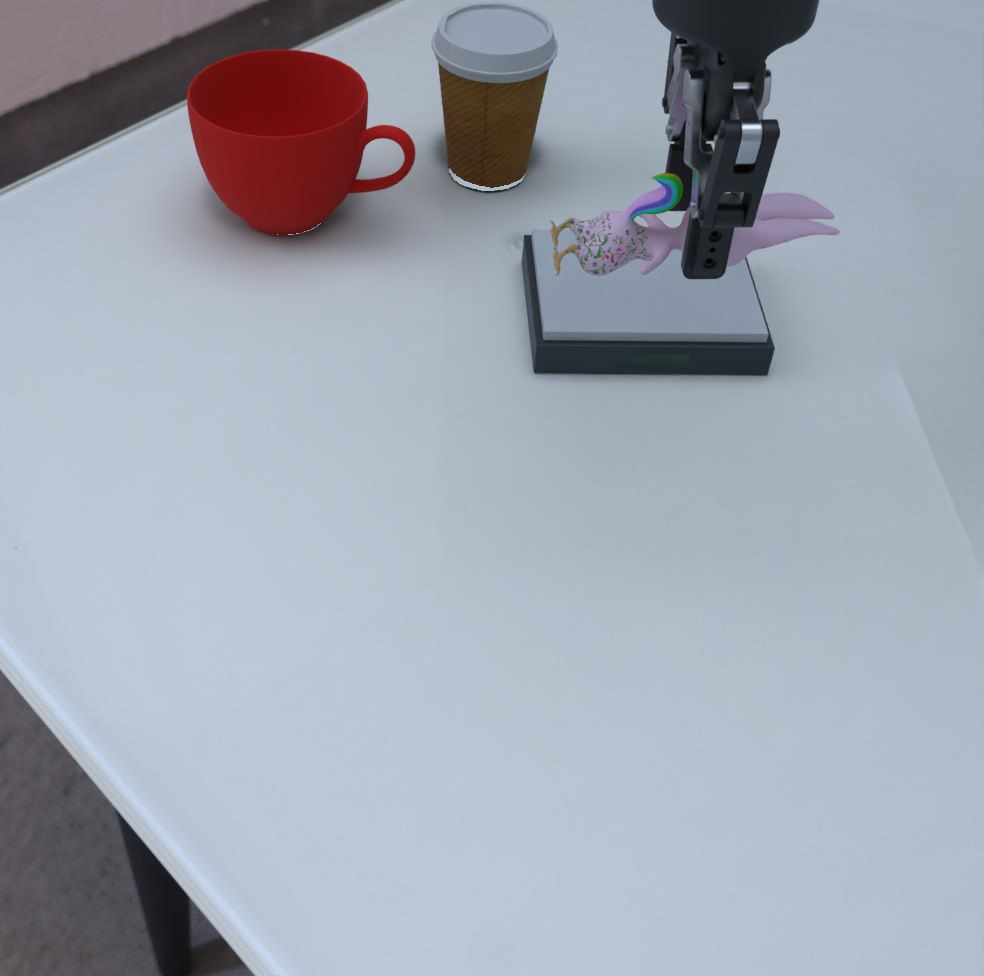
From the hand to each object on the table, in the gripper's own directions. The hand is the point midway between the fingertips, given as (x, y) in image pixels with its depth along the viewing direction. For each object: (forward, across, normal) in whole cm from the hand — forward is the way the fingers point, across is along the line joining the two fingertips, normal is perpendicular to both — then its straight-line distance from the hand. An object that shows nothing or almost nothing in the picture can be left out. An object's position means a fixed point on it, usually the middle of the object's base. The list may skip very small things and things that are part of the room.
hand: (691, 239), depth 70 cm
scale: (+17, +16, -2) cm, 23 cm away
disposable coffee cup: (+17, +35, +8) cm, 40 cm away
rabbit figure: (+2, 0, 0) cm, 2 cm away
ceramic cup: (+17, +28, +22) cm, 40 cm away
